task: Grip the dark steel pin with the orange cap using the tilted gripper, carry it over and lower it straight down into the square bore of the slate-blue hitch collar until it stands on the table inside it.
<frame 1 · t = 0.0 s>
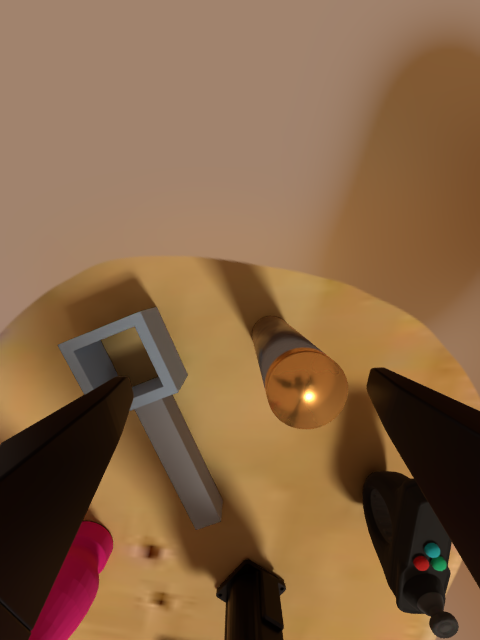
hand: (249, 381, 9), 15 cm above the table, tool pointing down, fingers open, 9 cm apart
pepper mill: (89, 539, 28), on the table
hitch: (138, 355, 24), on the table
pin: (270, 334, 24), on the table
controller: (373, 478, 27), on the table
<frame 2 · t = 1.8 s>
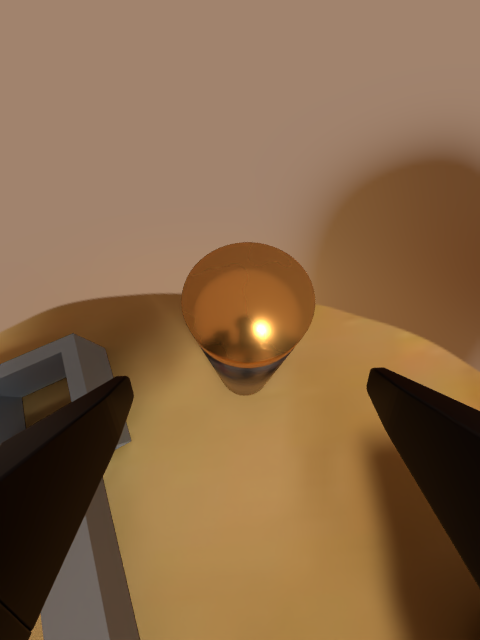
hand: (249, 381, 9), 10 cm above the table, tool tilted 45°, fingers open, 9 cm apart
hitch: (66, 415, 18), on the table
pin: (244, 370, 19), on the table
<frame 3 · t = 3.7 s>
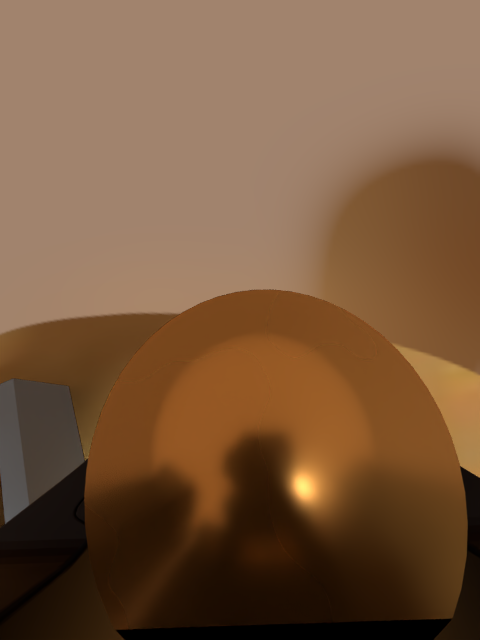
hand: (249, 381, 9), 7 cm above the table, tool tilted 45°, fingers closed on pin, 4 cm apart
hitch: (13, 480, 13), on the table
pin: (247, 416, 15), on the table, touching gripper
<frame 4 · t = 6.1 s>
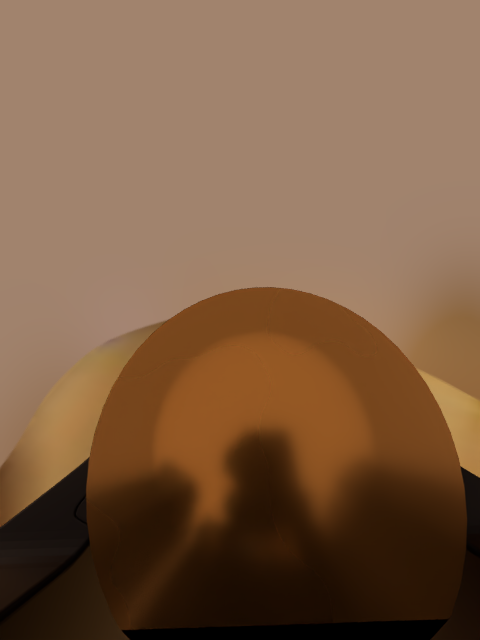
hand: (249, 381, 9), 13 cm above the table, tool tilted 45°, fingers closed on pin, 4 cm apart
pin: (247, 416, 15), point 6 cm above the table, touching gripper
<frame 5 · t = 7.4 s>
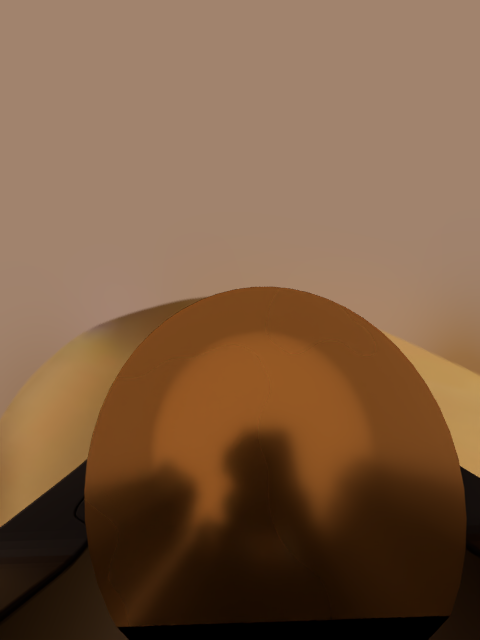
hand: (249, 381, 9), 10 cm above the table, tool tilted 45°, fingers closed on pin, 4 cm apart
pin: (247, 415, 15), point 2 cm above the table, touching gripper
when the fingers open (7 cm above the table, at t = 8.6 s): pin stays where it is, resting in hitch.
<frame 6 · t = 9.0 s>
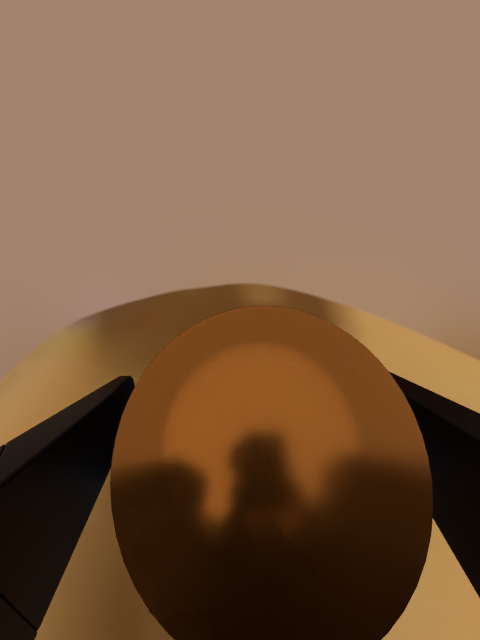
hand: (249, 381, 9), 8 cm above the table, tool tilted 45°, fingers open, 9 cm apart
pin: (247, 417, 15), resting in hitch
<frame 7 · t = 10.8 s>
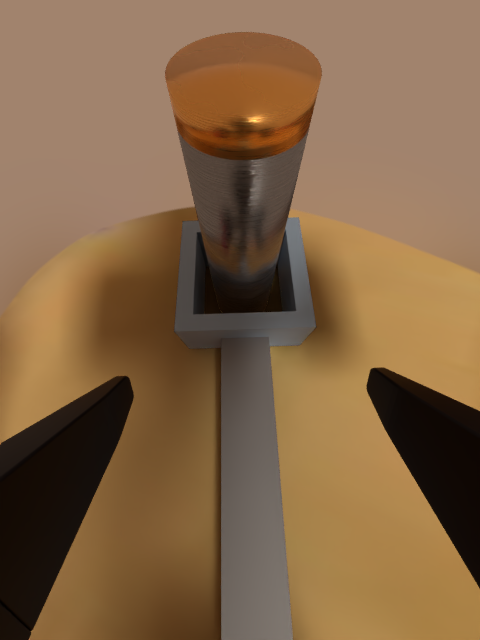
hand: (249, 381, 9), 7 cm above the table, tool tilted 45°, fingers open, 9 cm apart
hitch: (242, 297, 18), on the table
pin: (242, 298, 18), resting in hitch
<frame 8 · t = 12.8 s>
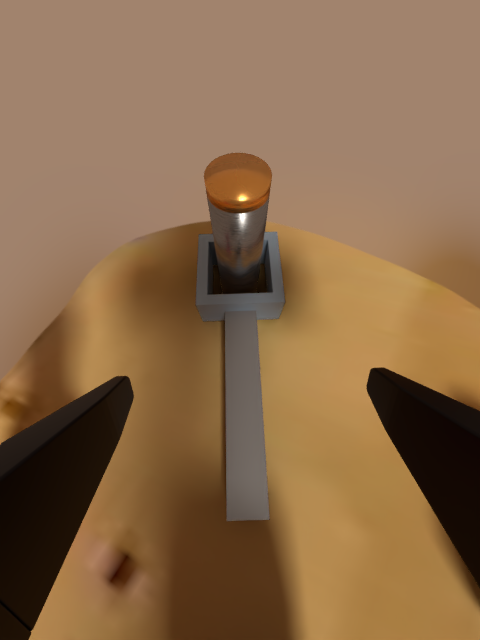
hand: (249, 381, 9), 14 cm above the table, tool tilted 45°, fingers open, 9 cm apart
hitch: (239, 286, 26), on the table
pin: (239, 287, 25), resting in hitch
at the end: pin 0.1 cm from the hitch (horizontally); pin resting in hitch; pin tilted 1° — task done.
